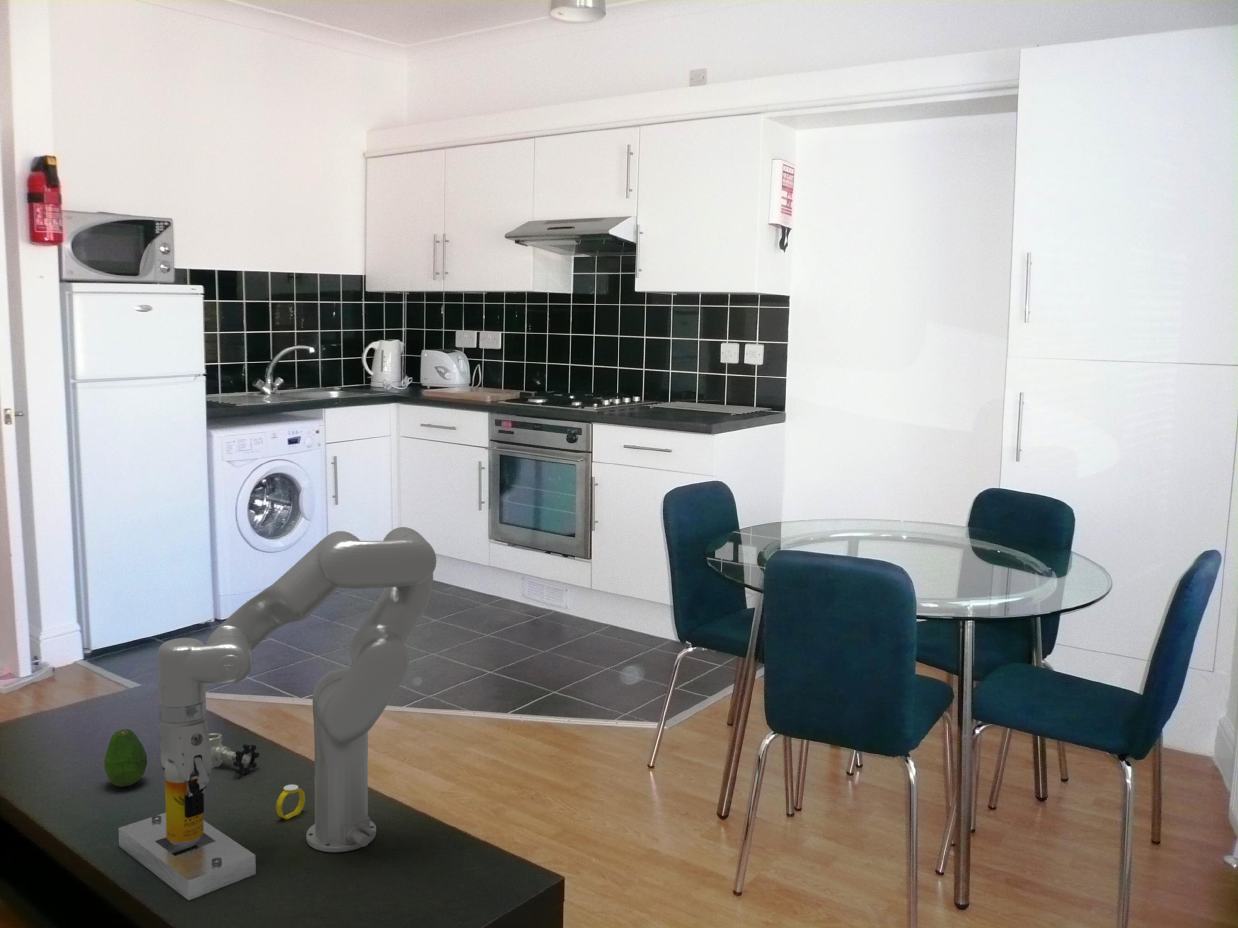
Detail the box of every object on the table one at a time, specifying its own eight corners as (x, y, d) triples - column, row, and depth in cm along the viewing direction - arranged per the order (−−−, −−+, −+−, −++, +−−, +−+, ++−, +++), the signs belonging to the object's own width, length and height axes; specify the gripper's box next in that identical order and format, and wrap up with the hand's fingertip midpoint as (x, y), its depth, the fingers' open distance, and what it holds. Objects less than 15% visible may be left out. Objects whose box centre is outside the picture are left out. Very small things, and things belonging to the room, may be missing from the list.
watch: (297, 810, 208) (299, 780, 208) (307, 814, 207) (308, 784, 206) (272, 819, 203) (274, 789, 203) (282, 823, 202) (283, 792, 201)
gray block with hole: (255, 873, 183) (255, 851, 183) (188, 900, 174) (188, 876, 174) (183, 824, 200) (183, 803, 200) (119, 846, 191) (118, 824, 191)
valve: (194, 768, 225) (236, 780, 220) (193, 739, 224) (236, 750, 219) (217, 757, 231) (259, 769, 226) (217, 728, 230) (259, 739, 225)
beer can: (190, 848, 183) (188, 765, 181) (159, 844, 184) (156, 761, 182) (210, 832, 189) (209, 752, 187) (180, 828, 190) (178, 748, 188)
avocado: (96, 790, 213) (94, 733, 212) (123, 775, 221) (121, 719, 219) (130, 796, 211) (128, 738, 210) (156, 779, 219) (155, 724, 217)
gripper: (228, 718, 181) (230, 817, 183) (180, 692, 192) (182, 787, 195) (185, 729, 175) (188, 832, 178) (138, 702, 187) (141, 799, 189)
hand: (184, 807), depth 186 cm, fingers closed on beer can, 6 cm apart
